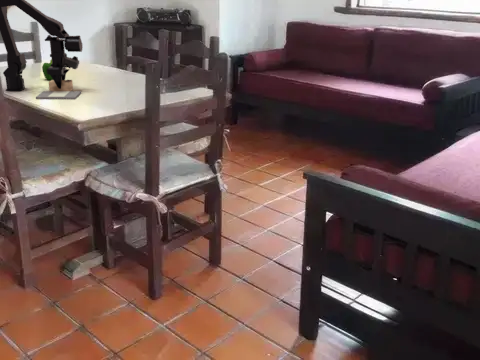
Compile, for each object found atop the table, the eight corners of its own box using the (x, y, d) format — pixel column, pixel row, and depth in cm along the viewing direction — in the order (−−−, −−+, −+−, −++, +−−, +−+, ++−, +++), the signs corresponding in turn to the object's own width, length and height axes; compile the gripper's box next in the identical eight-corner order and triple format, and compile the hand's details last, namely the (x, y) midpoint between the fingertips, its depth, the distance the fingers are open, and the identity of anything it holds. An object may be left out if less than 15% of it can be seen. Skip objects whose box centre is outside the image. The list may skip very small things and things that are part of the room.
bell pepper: (49, 82, 258) (46, 60, 255) (40, 79, 264) (38, 58, 260) (65, 79, 264) (63, 59, 261) (56, 77, 269) (54, 56, 266)
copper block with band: (49, 91, 240) (48, 81, 238) (52, 88, 244) (51, 79, 243) (70, 91, 240) (69, 81, 239) (73, 89, 245) (72, 79, 243)
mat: (35, 98, 225) (35, 96, 225) (43, 92, 236) (43, 90, 236) (75, 99, 226) (74, 97, 226) (81, 93, 237) (81, 91, 237)
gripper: (71, 54, 228) (74, 91, 234) (81, 48, 245) (84, 83, 251) (44, 54, 227) (48, 91, 233) (56, 48, 245) (59, 83, 250)
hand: (61, 87), depth 242 cm, fingers closed on copper block with band, 5 cm apart
